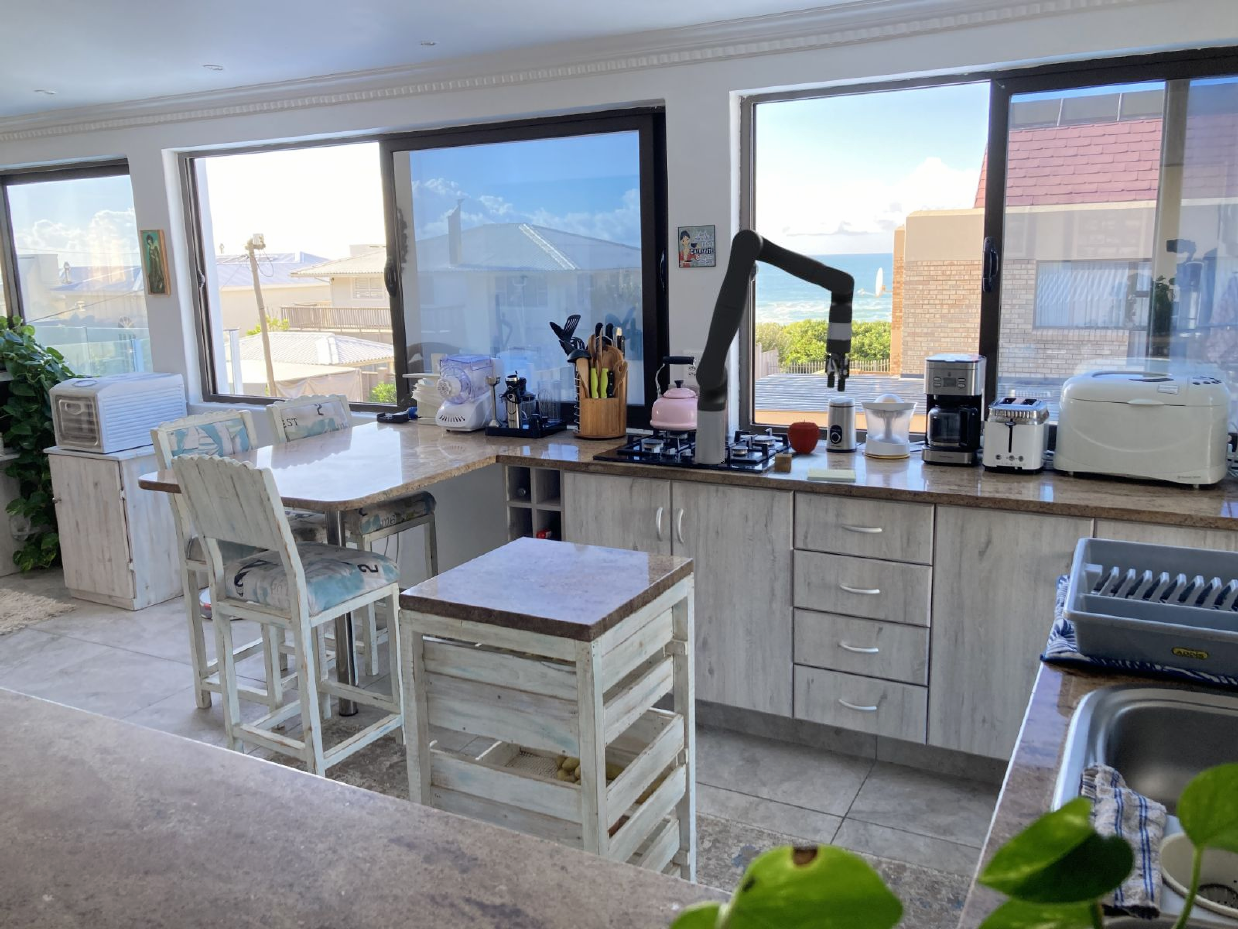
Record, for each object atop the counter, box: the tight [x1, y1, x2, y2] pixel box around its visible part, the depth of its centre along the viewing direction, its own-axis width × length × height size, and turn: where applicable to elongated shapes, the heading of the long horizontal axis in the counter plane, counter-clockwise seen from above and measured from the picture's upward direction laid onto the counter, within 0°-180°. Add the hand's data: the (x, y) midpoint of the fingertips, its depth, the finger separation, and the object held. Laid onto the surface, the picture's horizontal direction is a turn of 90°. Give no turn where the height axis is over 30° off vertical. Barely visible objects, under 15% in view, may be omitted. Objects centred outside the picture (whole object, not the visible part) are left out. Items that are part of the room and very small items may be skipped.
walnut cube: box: [773, 452, 793, 473], centre depth 305 cm, size 5×5×5 cm
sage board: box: [807, 468, 857, 483], centre depth 296 cm, size 14×12×1 cm
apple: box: [786, 419, 821, 455], centre depth 332 cm, size 11×11×12 cm
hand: (835, 389), depth 304 cm, fingers open, 8 cm apart
